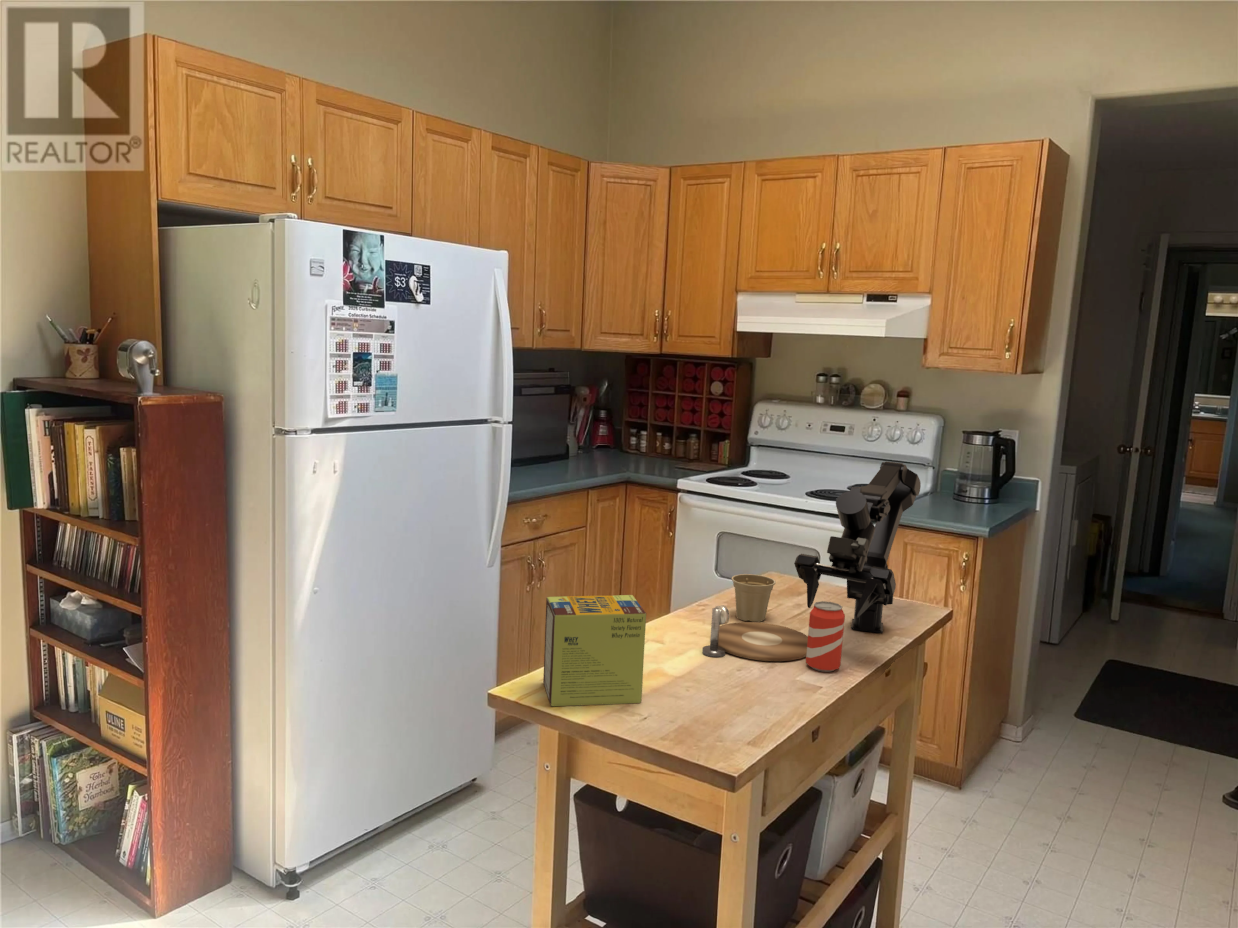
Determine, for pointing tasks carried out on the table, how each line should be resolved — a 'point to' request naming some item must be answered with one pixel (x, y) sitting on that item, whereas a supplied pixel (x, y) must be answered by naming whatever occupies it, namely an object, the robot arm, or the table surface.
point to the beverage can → (825, 636)
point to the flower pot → (752, 596)
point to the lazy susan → (763, 641)
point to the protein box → (594, 650)
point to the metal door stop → (716, 632)
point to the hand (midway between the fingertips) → (832, 611)
